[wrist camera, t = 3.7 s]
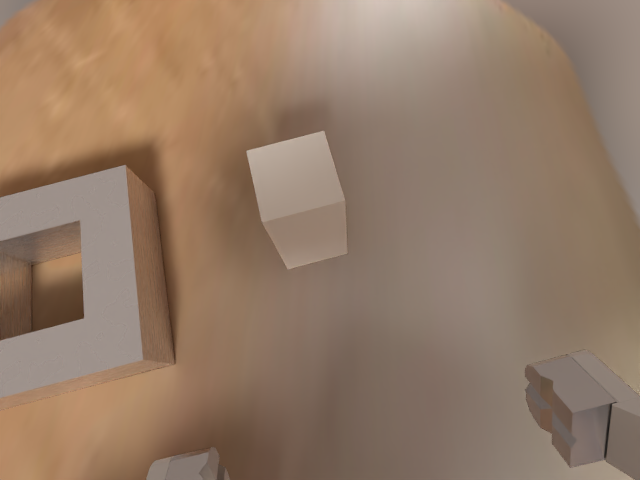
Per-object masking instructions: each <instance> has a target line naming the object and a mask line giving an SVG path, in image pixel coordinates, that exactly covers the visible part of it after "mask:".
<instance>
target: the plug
mask: <svg viewBox="0 0 640 480" xmlns="http://www.w3.org/2000/svg"><path fill="white" fill-rule="evenodd" d="M246 152H247V157H248V161H249V166H250V170H251V175H252V180H253V184H254V189H255V193H256V198H257V203H258V207H259V212H260V216H261V221H262V224H263V226H264V227H265V229H266V231H267V233H268V234H269V236H270V238H271V240H272V242H273V243H274V245H275V247H276V249H277V251H278V252H279V254H280V256H281V258H282V260H283V261H284V263H285V265H286V267H287V269H292V268H296V267H299V266H303V265H307V264H311V263H314V262H318V261H322V260H326V259H330V258H333V257H337V256H341V255H345V254H348V250H347V227H346V204H345V198H344V194H343V191H342V188H341V184H340V181H339V178H338V175H337V171H336V168H335V165H334V161H333V158H332V155H331V152H330V148H329V145H328V142H327V138H326V135H325V132H324V131H320V132H317V133H313V134H309V135H305V136H301V137H297V138H293V139H290V140H286V141H282V142H278V143H274V144H270V145H267V146H263V147H259V148H255V149H251V150H247V151H246Z"/></svg>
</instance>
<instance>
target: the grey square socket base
mask: <svg viewBox="0 0 640 480" xmlns="http://www.w3.org/2000/svg"><path fill="white" fill-rule="evenodd" d="M79 252H82V277H83V301H84V319H80V320H76V321H72V322H69V323H65V324H61V325H57V326H54V327H50V328H46V329H42V330H38V331H35V332H31V312H32V265H34V264H38V263H41V262H45V261H49V260H53V259H57V258H60V257H64V256H68V255H72V254H76V253H79ZM173 364H175V359H174V351H173V342H172V334H171V325H170V317H169V308H168V299H167V291H166V282H165V274H164V265H163V257H162V248H161V240H160V231H159V223H158V214H157V206H156V197H155V193H154V192H153V191H152V190H151V189H150V188H149V187H148V186H147V185H146V184H145V183H144V182H143V181H142V180H141V179H139V178H138V177H137V176H136V175H135V174H134V173H133V172H132V171H131V170H130V169H129V168H128V167H127V166H126V165H123V166H119V167H115V168H111V169H108V170H104V171H100V172H96V173H92V174H88V175H85V176H81V177H77V178H73V179H69V180H65V181H61V182H58V183H54V184H50V185H46V186H42V187H38V188H35V189H31V190H27V191H23V192H19V193H15V194H12V195H8V196H4V197H0V411H1V410H5V409H8V408H12V407H16V406H19V405H23V404H27V403H31V402H34V401H38V400H42V399H46V398H49V397H53V396H57V395H61V394H64V393H68V392H72V391H76V390H79V389H83V388H87V387H91V386H94V385H98V384H102V383H106V382H109V381H113V380H117V379H121V378H124V377H128V376H132V375H136V374H139V373H143V372H147V371H151V370H154V369H158V368H162V367H166V366H169V365H173Z"/></svg>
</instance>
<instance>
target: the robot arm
mask: <svg viewBox="0 0 640 480" xmlns="http://www.w3.org/2000/svg"><path fill="white" fill-rule="evenodd" d="M525 377H526V378H527V380H528V381H529V382H530V384H529V385H528V387H527V388H526V389H525V392H526V401H527V404H528V407H529V410H530V412H531V414H532V416H533V418H534V419H535V421H536V422H537V424H538V425H539V426H540V428H542V429H544V430H546V431H548V432H550V433H552V444H553V445H554V447H555V448H556V449H557V451H558V452H559V453H560V455H561V456H562V458H563V459H564V460H565V462H566V463H567V464H568V466H569V467H570V468H571V467H575V466H579V465H584V464H588V463H593V462H597V461H601V460H606V462H608V463H609V464H611V465H612V466H614V467H616V468H617V469H619V470H620V471H622V472H624V473H625V474H627V475H629V476H630V477H632V478H633V479H635V480H640V396H639V395H638V394H637V393H636V392H635V391H634V390H633V389H632V388H630V387H629V386H628V385H627V384H626V383H625V382H624V381H623V380H621V379H620V378H619V377H618V376H617V375H616V374H615V373H614V372H613V371H611V370H610V369H609V368H608V367H607V366H606V365H605V364H604V363H602V362H601V361H600V360H599V359H598V358H597V357H596V356H595V355H594V354H592V353H591V352H590V351H587V350H582V351H578V352H574V353H570V354H567V355H562V356H558V357H555V358H551V359H547V360H544V361H540V362H536V363H533V364H529V365H527V366H526V368H525ZM146 480H230V478H229V475H228V472H227V470H226V468H225V467H223V466H221V465H219V454H218V452H217V450H216V449H215V447H210V448H206V449H202V450H197V451H193V452H189V453H184V454H180V455H176V456H172V457H168V458H164V459H160V460H156V461H154V462H153V464H152V465H151V466H150V468H149V472H148V475H147V478H146Z"/></svg>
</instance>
